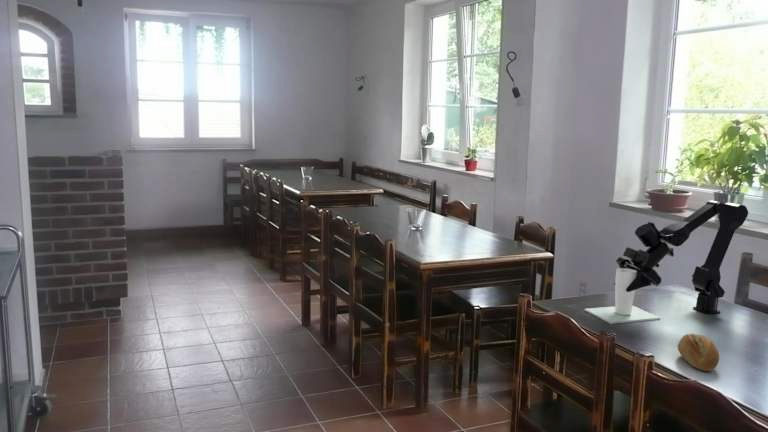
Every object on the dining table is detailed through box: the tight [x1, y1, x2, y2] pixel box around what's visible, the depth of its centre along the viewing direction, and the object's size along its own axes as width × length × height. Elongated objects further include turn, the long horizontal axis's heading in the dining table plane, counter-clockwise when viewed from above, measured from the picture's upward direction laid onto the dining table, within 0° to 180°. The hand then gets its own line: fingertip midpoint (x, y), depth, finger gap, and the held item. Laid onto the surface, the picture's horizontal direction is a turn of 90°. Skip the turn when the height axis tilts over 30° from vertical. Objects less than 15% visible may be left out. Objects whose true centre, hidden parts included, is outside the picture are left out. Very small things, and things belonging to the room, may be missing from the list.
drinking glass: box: [614, 267, 637, 315], centre depth 221 cm, size 7×7×15 cm
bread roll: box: [677, 333, 720, 372], centre depth 181 cm, size 10×15×8 cm, turn 175°
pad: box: [583, 305, 661, 325], centre depth 222 cm, size 20×14×1 cm
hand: (620, 288), depth 220 cm, fingers closed on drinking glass, 6 cm apart
